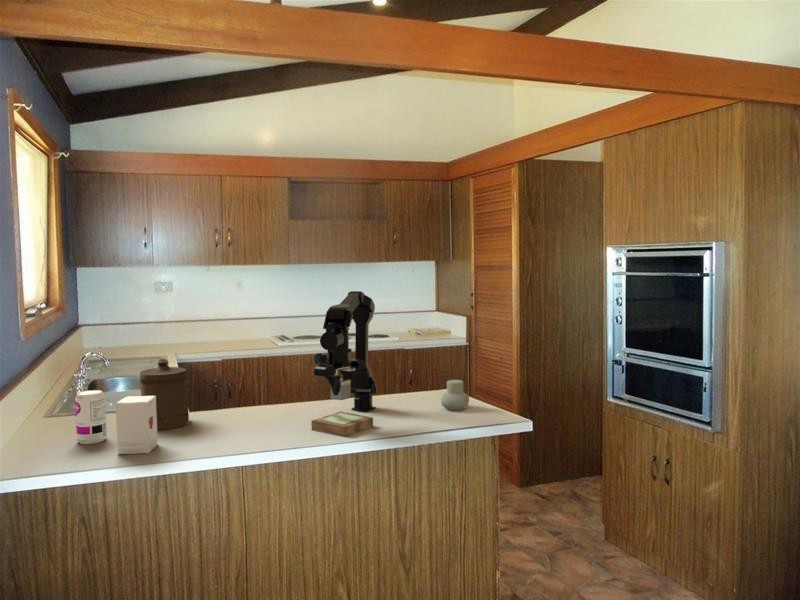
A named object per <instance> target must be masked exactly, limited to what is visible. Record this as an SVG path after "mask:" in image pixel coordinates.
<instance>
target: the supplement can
mask: <svg viewBox="0 0 800 600" xmlns="http://www.w3.org/2000/svg"><path fill="white" fill-rule="evenodd" d="M74 404H75V405H74V409H75V425H76V426H75V428H76V441H77V442H78V443H79V444H81V445H93V444H98V443H99V444H100V443H102V442H103V441H105V440H106V439H107V437H108V436H107V435H108V434H107V433H108V432H107V417H106V416H107V415H106V396H105V394H104V392H103V391H102V390H99V389H93V390H89V389H88V390H83V391H79V392H77V393H76V396H75V398H74Z"/></svg>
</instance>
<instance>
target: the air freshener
mask: <svg viewBox="0 0 800 600" xmlns="http://www.w3.org/2000/svg"><path fill="white" fill-rule="evenodd" d="M469 396H470V395H468V394H467V393H466V392H464V381H463V380H461V379H449V380H447V381H446V392H445V393H443V394H442V396H441V399H440V402H441V406H442V407H443V408H445V409H446V410H450V411H463V410H464V409H466V408H467V407H468V406H469V404H470V397H469Z"/></svg>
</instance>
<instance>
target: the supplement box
mask: <svg viewBox="0 0 800 600" xmlns="http://www.w3.org/2000/svg"><path fill="white" fill-rule="evenodd" d="M115 417H116V419H115V420H116V444H117V448H116V449H117V455H135V454H138V455H139V454H150V452H152V451H153V450H154V449H155V447H157V446H158V445H159V444H158V430H157V414H156V396H140V395H137V396H130V395H129V396H126V397H123V398H122V399H120V400H118V401H117V402H116V403H115Z"/></svg>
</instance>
